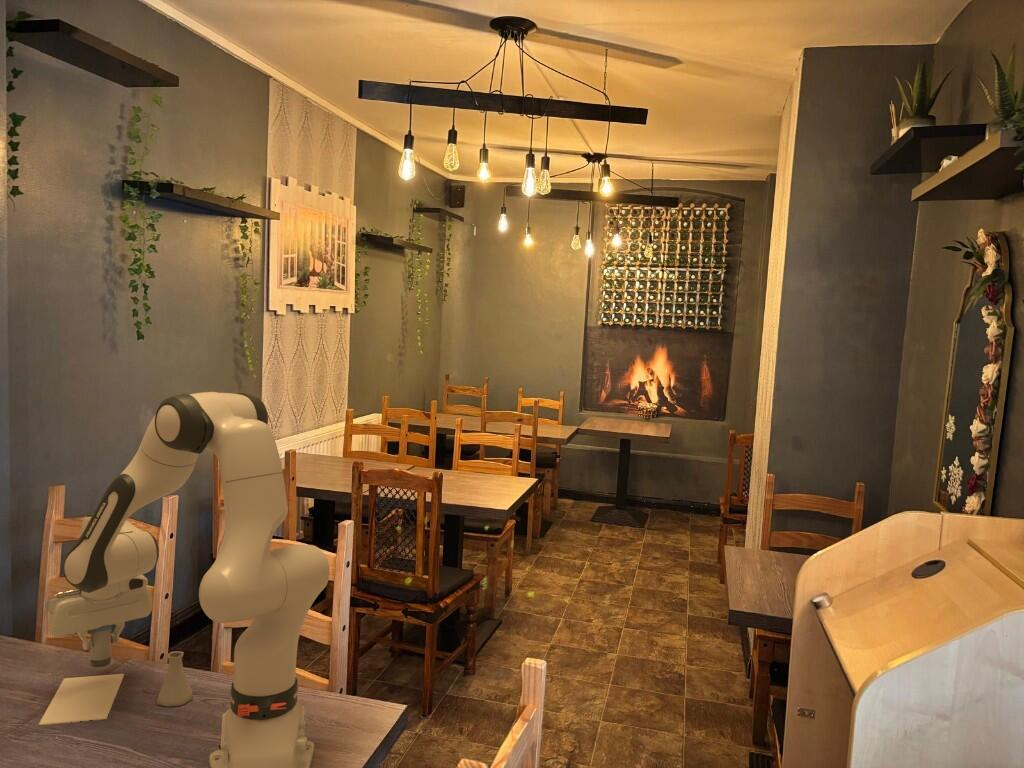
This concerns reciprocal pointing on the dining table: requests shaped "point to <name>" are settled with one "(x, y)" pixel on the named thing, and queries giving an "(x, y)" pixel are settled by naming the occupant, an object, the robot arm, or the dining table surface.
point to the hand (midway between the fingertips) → (101, 645)
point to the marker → (101, 646)
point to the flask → (175, 683)
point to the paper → (83, 699)
